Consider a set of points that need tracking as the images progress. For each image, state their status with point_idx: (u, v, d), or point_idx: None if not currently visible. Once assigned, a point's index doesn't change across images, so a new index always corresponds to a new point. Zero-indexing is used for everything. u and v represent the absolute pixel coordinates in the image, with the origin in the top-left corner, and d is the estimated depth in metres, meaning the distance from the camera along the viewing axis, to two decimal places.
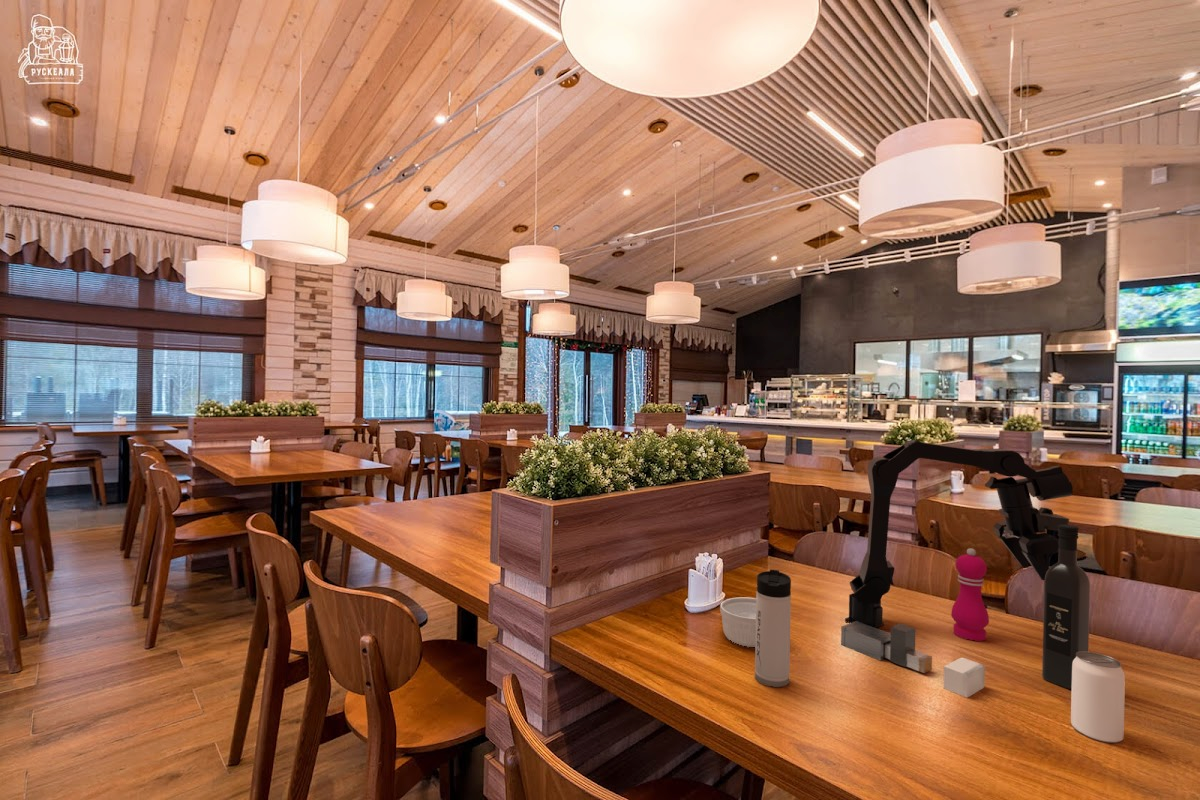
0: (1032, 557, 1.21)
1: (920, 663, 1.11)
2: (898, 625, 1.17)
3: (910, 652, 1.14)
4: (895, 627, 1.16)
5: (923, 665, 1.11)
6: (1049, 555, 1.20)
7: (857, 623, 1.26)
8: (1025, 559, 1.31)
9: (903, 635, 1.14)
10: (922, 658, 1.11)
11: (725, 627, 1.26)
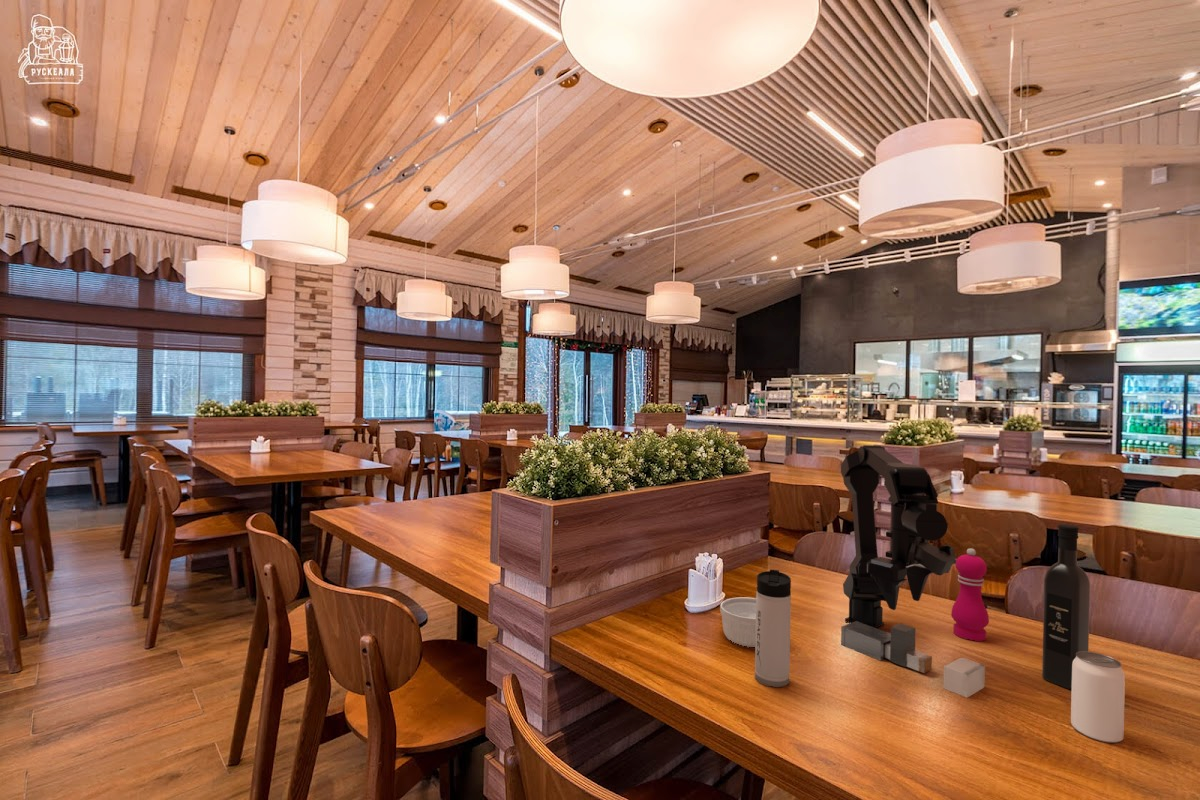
0: (879, 580, 1.13)
1: (920, 663, 1.11)
2: (898, 625, 1.17)
3: (910, 652, 1.14)
4: (895, 627, 1.16)
5: (923, 665, 1.11)
6: (894, 585, 1.11)
7: (857, 623, 1.26)
8: (917, 592, 1.18)
9: (903, 635, 1.14)
10: (922, 658, 1.11)
11: (725, 627, 1.26)
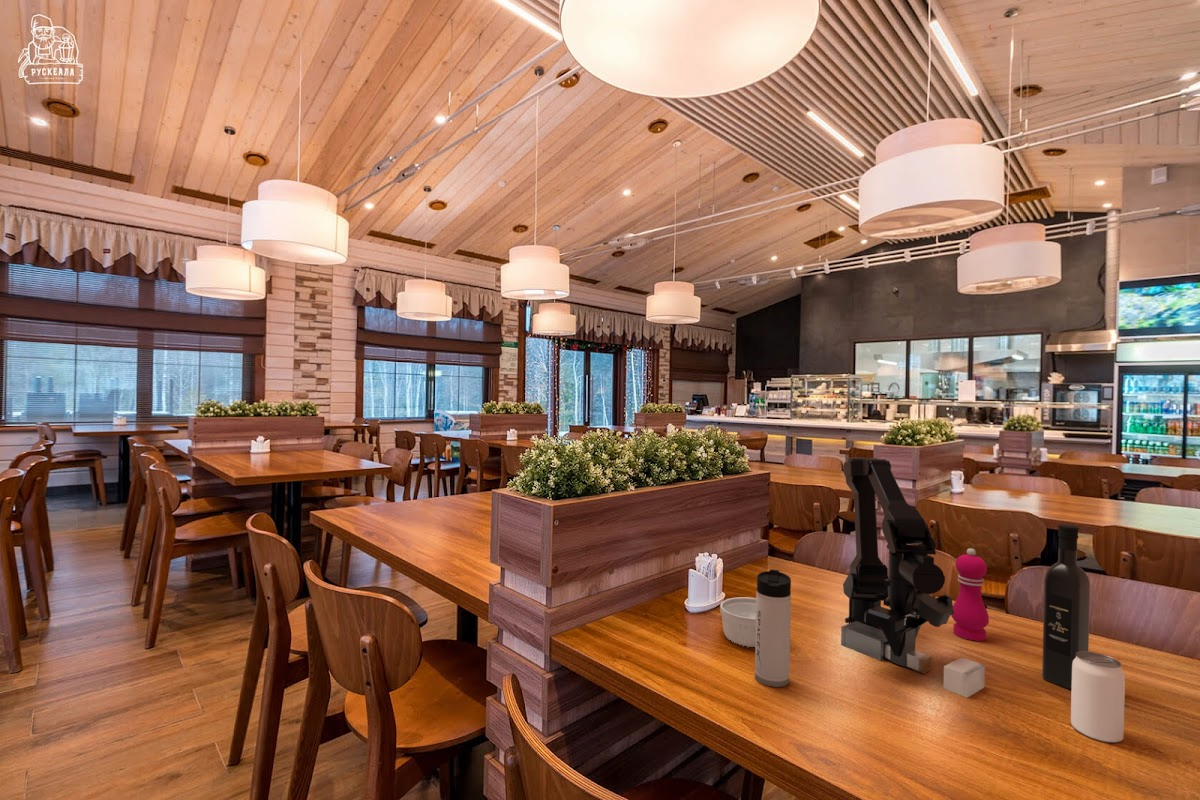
0: None
1: (920, 663, 1.11)
2: None
3: (910, 652, 1.14)
4: None
5: (923, 665, 1.11)
6: (899, 632, 1.12)
7: (857, 623, 1.26)
8: None
9: None
10: (922, 658, 1.11)
11: (725, 627, 1.26)
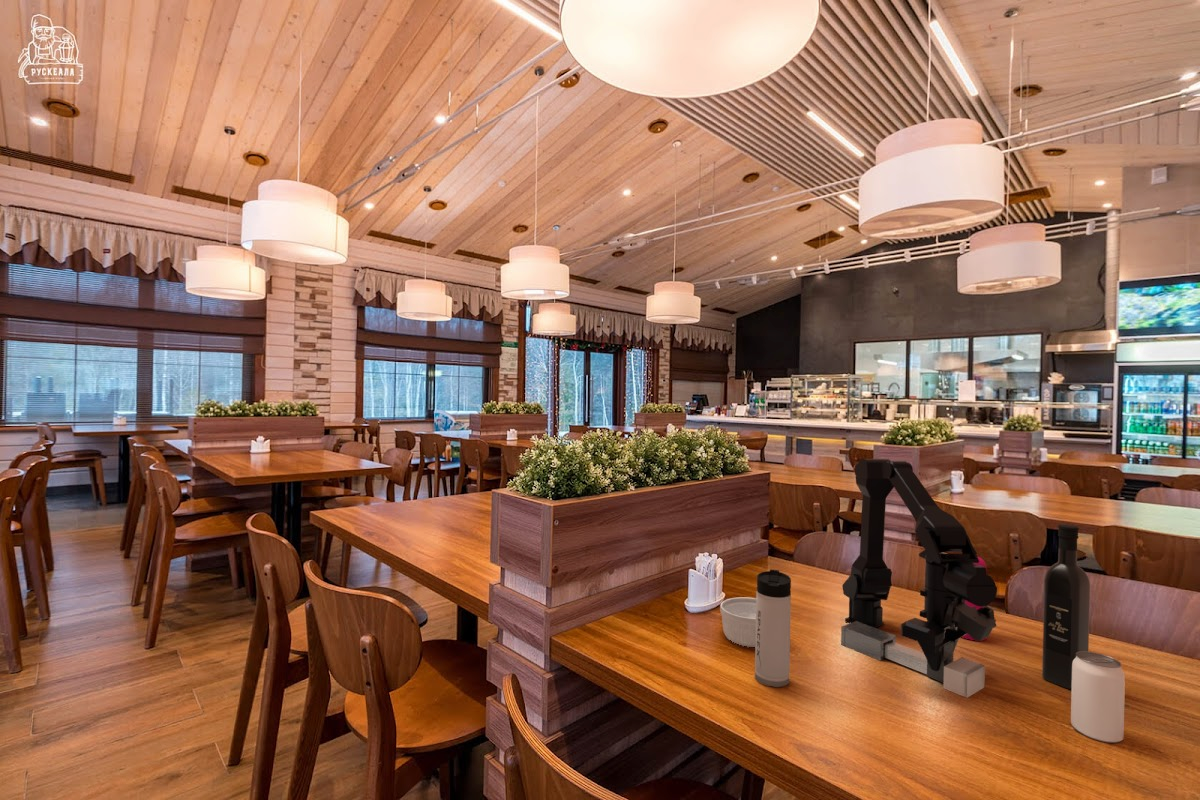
0: None
1: None
2: None
3: None
4: None
5: None
6: (937, 646, 1.06)
7: (857, 623, 1.26)
8: None
9: None
10: None
11: (725, 627, 1.26)
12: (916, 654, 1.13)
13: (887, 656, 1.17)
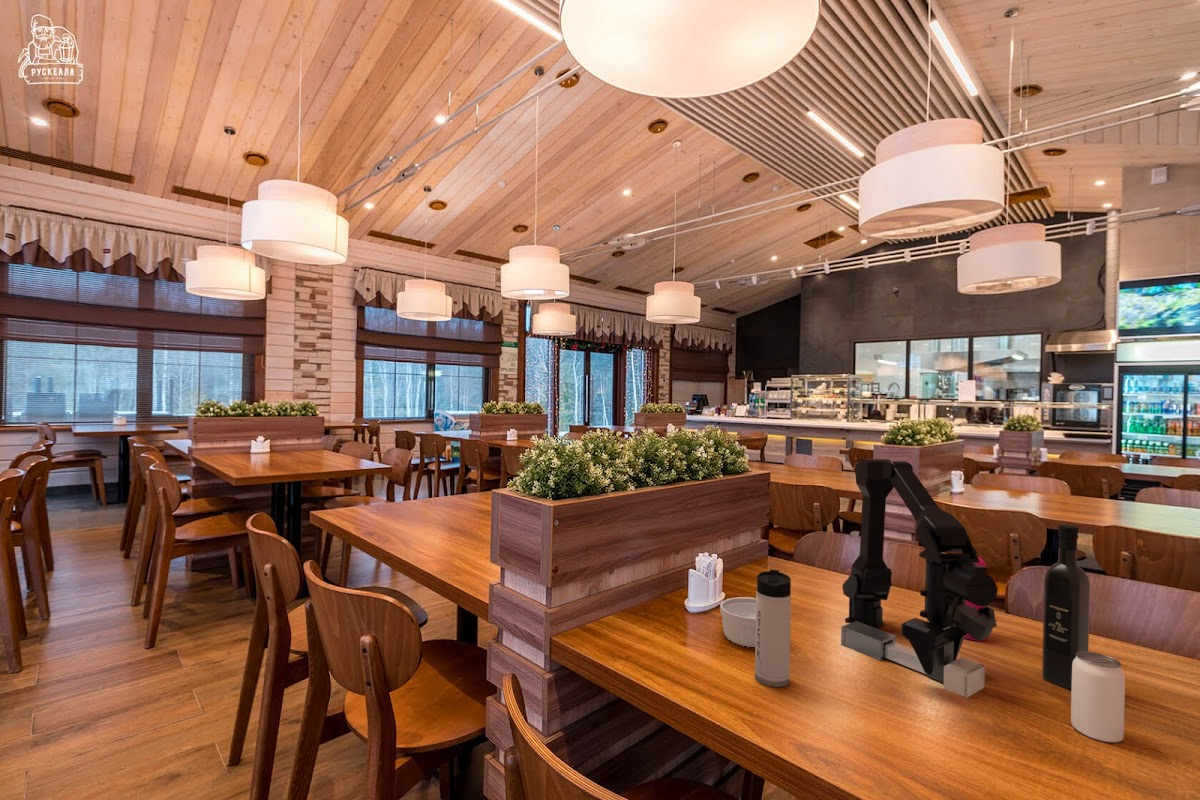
0: (914, 642, 1.08)
1: None
2: None
3: None
4: None
5: None
6: (931, 649, 1.05)
7: (857, 623, 1.26)
8: None
9: (941, 649, 1.08)
10: None
11: (725, 627, 1.26)
12: None
13: (887, 656, 1.17)
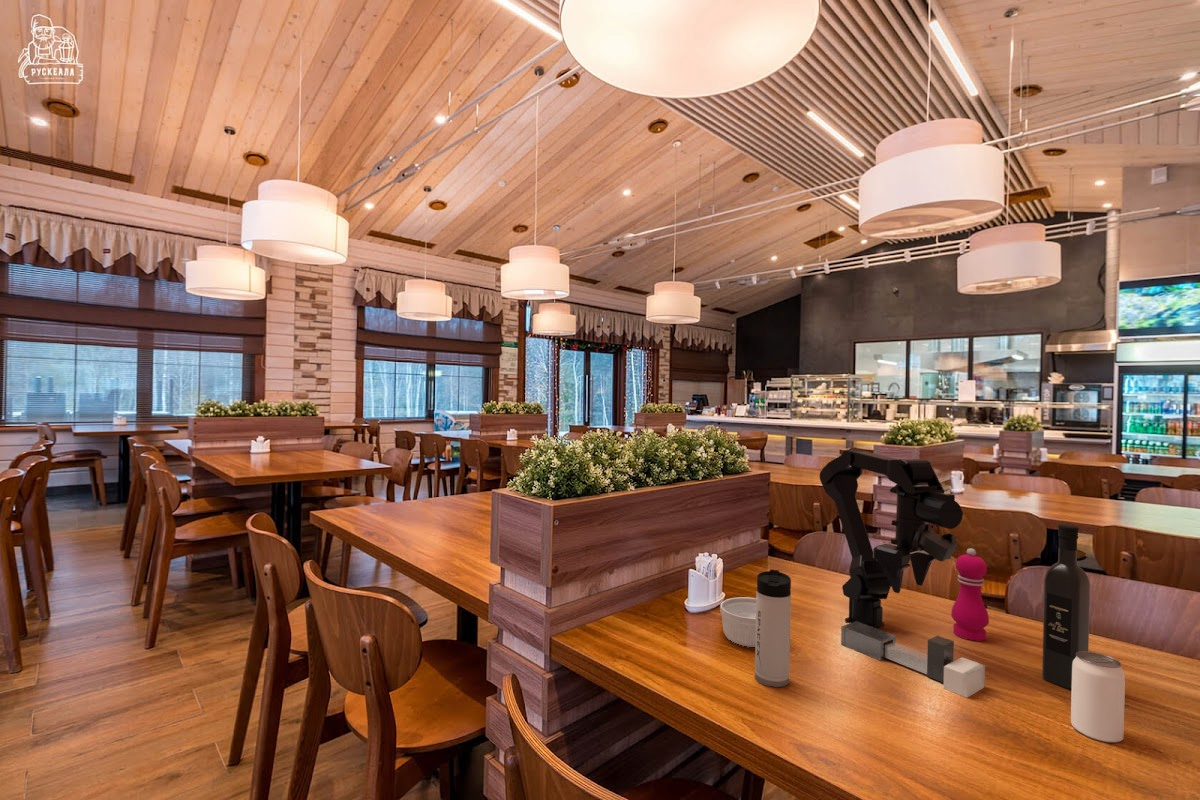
0: (884, 565, 1.21)
1: None
2: (935, 638, 1.11)
3: None
4: (932, 640, 1.10)
5: None
6: (898, 569, 1.18)
7: (857, 623, 1.26)
8: (920, 577, 1.25)
9: (941, 649, 1.08)
10: None
11: (725, 627, 1.26)
12: (916, 654, 1.13)
13: (887, 656, 1.17)
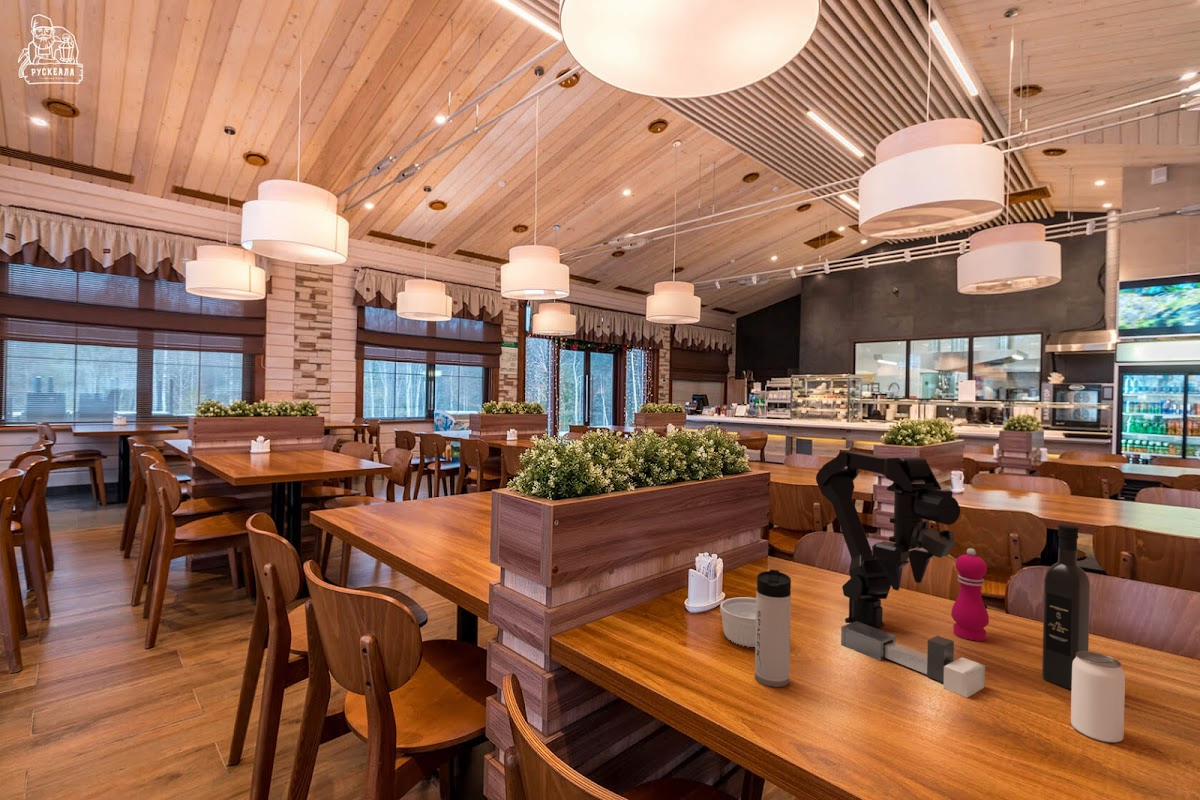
0: (883, 562, 1.22)
1: None
2: (935, 638, 1.11)
3: None
4: (932, 640, 1.10)
5: None
6: (897, 566, 1.19)
7: (857, 623, 1.26)
8: (919, 574, 1.26)
9: (941, 649, 1.08)
10: None
11: (725, 627, 1.26)
12: (916, 654, 1.13)
13: (887, 656, 1.17)
